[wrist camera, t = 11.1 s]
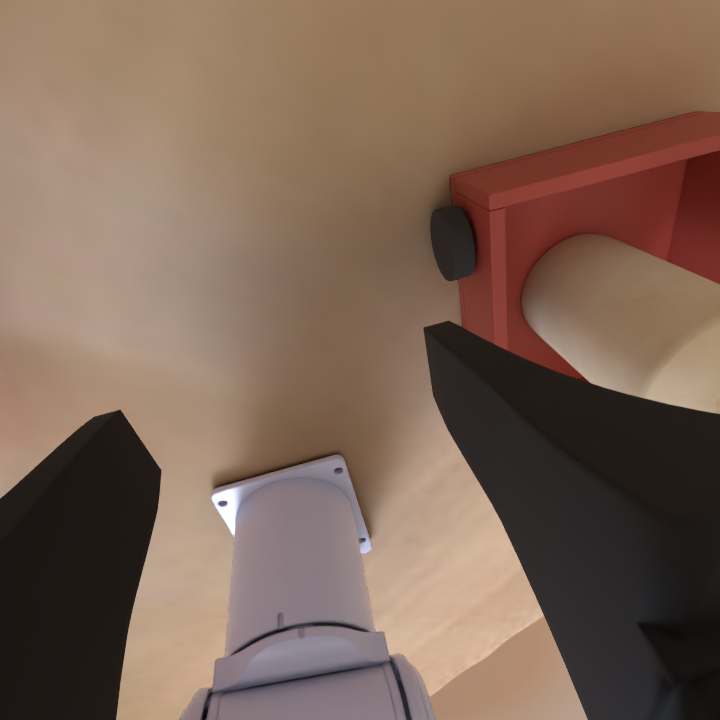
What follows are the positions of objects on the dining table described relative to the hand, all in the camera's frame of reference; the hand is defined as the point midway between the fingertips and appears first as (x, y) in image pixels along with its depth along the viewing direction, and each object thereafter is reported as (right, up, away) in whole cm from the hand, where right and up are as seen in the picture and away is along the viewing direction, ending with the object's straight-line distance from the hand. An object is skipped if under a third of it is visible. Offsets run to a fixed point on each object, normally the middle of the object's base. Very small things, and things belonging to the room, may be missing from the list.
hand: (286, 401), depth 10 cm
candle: (+12, +5, +11) cm, 18 cm away
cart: (+12, +5, +12) cm, 18 cm away
